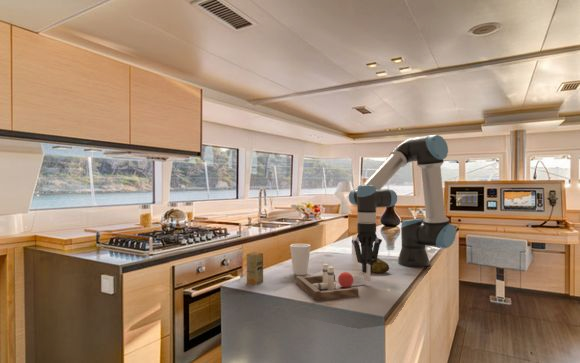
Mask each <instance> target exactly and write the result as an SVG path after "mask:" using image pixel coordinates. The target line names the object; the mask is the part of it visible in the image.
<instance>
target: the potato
mask: <svg viewBox="0 0 580 363" xmlns="http://www.w3.org/2000/svg"><path fill="white" fill-rule="evenodd" d="M367 264H368V263H367ZM389 270H390V265H389V263H387V262H386V261H384V260H382V259H380V258H379V257H377V261H376V263H374V264H373V265H372V272H373V273H376V274H383V273H387V272H388V271H389ZM372 272H371V273H372Z"/></svg>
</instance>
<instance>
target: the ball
mask: <svg viewBox="0 0 580 363" xmlns="http://www.w3.org/2000/svg"><path fill="white" fill-rule="evenodd" d="M338 275H339V276H338V279H337V282H338V285H340V286H341V287H342V288H344V289H348V288H351V287H350V286H353V284H354V277H353V275H352V273H350V272H347V271H343V272H341V273H340V274H338Z"/></svg>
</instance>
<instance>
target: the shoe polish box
mask: <svg viewBox="0 0 580 363" xmlns="http://www.w3.org/2000/svg"><path fill="white" fill-rule="evenodd" d="M246 283H247V284H251V285H259V284H260V283H264V253H261V252H255V251H254V252H250V253H247V254H246Z"/></svg>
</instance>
